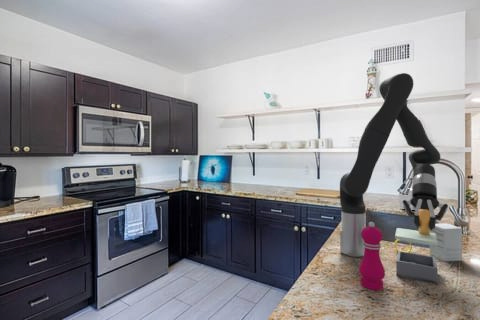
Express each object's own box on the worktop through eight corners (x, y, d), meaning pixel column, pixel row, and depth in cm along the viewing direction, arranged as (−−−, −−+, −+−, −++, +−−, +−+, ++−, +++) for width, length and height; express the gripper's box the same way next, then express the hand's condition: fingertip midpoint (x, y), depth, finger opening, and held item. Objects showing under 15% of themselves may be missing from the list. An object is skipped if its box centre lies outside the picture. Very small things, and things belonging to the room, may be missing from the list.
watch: (410, 252, 108) (411, 238, 107) (411, 255, 105) (412, 240, 105) (393, 249, 111) (395, 235, 110) (394, 251, 108) (395, 237, 108)
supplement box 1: (418, 209, 186) (418, 189, 186) (412, 211, 181) (412, 190, 181) (404, 207, 194) (404, 187, 193) (398, 209, 188) (398, 188, 188)
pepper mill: (373, 293, 76) (373, 226, 76) (354, 282, 83) (353, 220, 83) (390, 288, 79) (390, 223, 79) (370, 277, 86) (370, 218, 86)
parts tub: (396, 275, 87) (396, 260, 87) (398, 263, 96) (398, 250, 96) (437, 284, 81) (437, 268, 81) (435, 271, 90) (435, 256, 90)
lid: (394, 241, 87) (395, 211, 87) (396, 232, 97) (397, 205, 96) (437, 248, 81) (438, 216, 81) (435, 238, 90) (435, 209, 90)
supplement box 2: (446, 253, 105) (446, 222, 105) (462, 261, 98) (463, 228, 98) (428, 254, 105) (428, 223, 105) (443, 261, 98) (444, 228, 98)
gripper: (402, 180, 99) (400, 218, 90) (449, 183, 92) (452, 225, 82) (402, 192, 104) (400, 230, 94) (447, 196, 96) (450, 237, 86)
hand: (424, 227), depth 88 cm, fingers closed on lid, 3 cm apart
